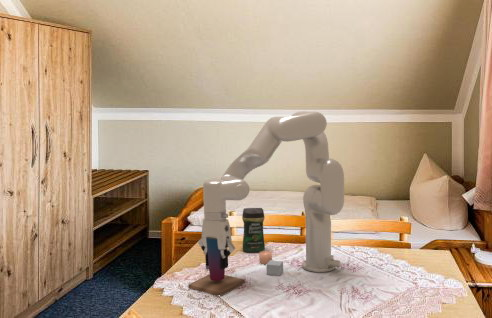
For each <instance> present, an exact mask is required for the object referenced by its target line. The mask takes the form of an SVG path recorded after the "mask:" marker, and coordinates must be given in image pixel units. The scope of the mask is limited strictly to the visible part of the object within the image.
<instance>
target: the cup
mask: <svg viewBox="0 0 492 318" xmlns="http://www.w3.org/2000/svg"><path fill="white" fill-rule="evenodd" d="M206 242H207V252H208V263H209V270H208V272H209V274H210V279H211V280H213V281H220V280H223V279H224V277H225V275H226V273H225V271H226V270H225V269H226V268H225V269H221V258H222V255H221V252H220V251H221V250H219V249H218V242H217V239H209V238H207V237H206ZM224 253H225V250H224Z"/></svg>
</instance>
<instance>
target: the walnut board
mask: <svg viewBox="0 0 492 318" xmlns="http://www.w3.org/2000/svg"><path fill="white" fill-rule="evenodd" d="M243 283H244V284H246V279H244V278H240V277H235V276H231V275H228V274H225V277H224V279H223V280H220V281H213V280H211V279H210V273H209V274H207V275H205V276H203V277H201V278H199V279H197V280H195V281H193V282H191V283H189V284H188V286H187V287H189V288H188V289H191V288H192V289H191V290H194V289H195V290H196V291H199V292H202V291H203V292H204V293H207V294H210V295H213V294H215V295H214V296H217V295H220V296H219V297H222V296H224V295H226V294H227V292H228V293H229V292H231V291H233V290H235V289H236V287H237V288H238V287H240V286H243ZM195 290H194V291H195ZM203 292H202V293H203ZM225 293H226V294H225ZM223 294H224V295H223ZM221 295H222V296H221Z"/></svg>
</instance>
